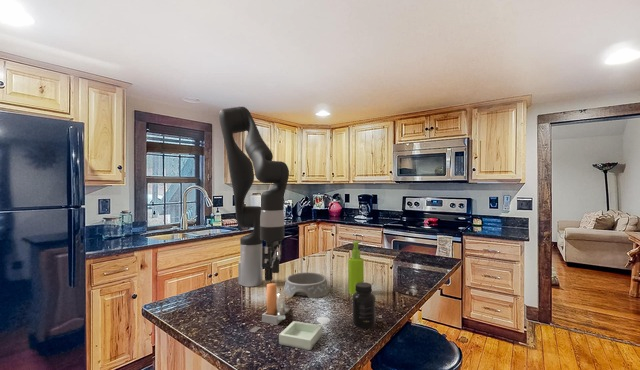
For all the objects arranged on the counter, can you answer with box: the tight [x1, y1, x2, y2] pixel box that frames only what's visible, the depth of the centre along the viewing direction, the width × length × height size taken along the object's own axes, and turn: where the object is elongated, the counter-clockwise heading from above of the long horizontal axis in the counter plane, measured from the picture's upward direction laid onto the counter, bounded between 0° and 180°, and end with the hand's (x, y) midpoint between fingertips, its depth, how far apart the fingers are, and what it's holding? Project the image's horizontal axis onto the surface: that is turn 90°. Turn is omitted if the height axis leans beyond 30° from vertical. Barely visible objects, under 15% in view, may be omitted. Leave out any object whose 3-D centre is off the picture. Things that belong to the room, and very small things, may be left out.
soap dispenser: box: [347, 240, 365, 295], centre depth 123 cm, size 6×7×20 cm
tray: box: [278, 320, 324, 351], centre depth 85 cm, size 9×9×2 cm
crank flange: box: [249, 304, 290, 333], centre depth 98 cm, size 7×20×1 cm, turn 159°
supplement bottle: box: [352, 281, 376, 330], centre depth 94 cm, size 7×7×12 cm
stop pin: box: [266, 282, 278, 316], centre depth 97 cm, size 3×3×11 cm
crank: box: [277, 291, 286, 320], centre depth 99 cm, size 15×4×8 cm, turn 11°
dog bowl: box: [282, 272, 330, 299], centre depth 125 cm, size 17×18×5 cm
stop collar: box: [261, 310, 284, 325], centre depth 97 cm, size 5×5×2 cm
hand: (272, 276), depth 97 cm, fingers open, 8 cm apart
